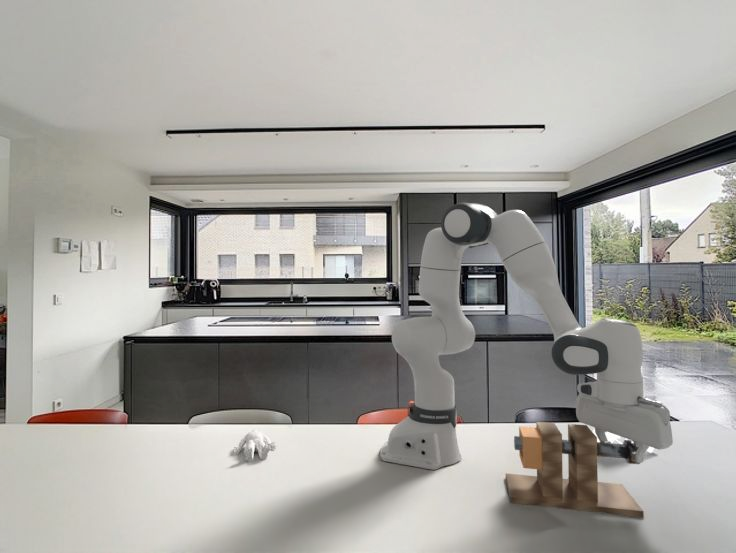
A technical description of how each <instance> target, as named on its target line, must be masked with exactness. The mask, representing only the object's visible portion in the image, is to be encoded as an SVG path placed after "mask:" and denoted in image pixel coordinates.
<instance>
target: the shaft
mask: <svg viewBox="0 0 736 553" xmlns="http://www.w3.org/2000/svg"><path fill="white" fill-rule="evenodd" d="M622 443H623V444H620V443H614V442H613V443H601V442H597V458H599V457H601V458H611V459H623V460H625V463H626V464H629V465H630V464H631V465H641V463H637V462H635V461H632V459H631V458H632V456H631V453H632V452H636V451H637V450H638V448H639V447H636V441H632V440H630V439H627V440H625V439H624V440H623V442H622ZM513 446H514V450H515V451H519V450H523V444H522V438H521V437H520V436H519V435H514V437H513ZM568 454H572V455H575V441H574V440H568V439H562V455H568Z"/></svg>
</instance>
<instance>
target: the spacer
mask: <svg viewBox="0 0 736 553" xmlns="http://www.w3.org/2000/svg"><path fill="white" fill-rule="evenodd" d="M518 431H519V432H518V434H519V435H518V436H520V437H521V438H522V444H523V450H518V452H519V453H518V454H519V458H520V461H521V465H522V467H523V469H530V470H537V469H539V470H543V468H542V437H541V435H540V433H539V431H538V429H537V428H536V427H532V426H519V427H518Z"/></svg>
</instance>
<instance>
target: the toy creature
mask: <svg viewBox="0 0 736 553" xmlns="http://www.w3.org/2000/svg"><path fill="white" fill-rule="evenodd" d="M244 446H245V447H244ZM276 447H278V446H277V445H276V442H274V441H273V442H271V439H270V438H269V437H268V436H267V435H266V434H264V433H262V432H261V431H259V430H256V429H253V430H251V431H250V432H248V433H247V434H246V435H245V436H243V437H242V438H241V440H240V442H239V443H238V445H237V446H235V447H233V448H234V450H233V454H234V455H236V456H238V455H239V453H240V451H241V449H242V448H243V453H244V458H245V461H246V462H248V463H250V462H253V461H254V455H255V452H256V453H258V455H259V459H260V460H261V461H266V459H268V455H269V452H270V450H272V451H273V452H274V450H277V449H276Z"/></svg>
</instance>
